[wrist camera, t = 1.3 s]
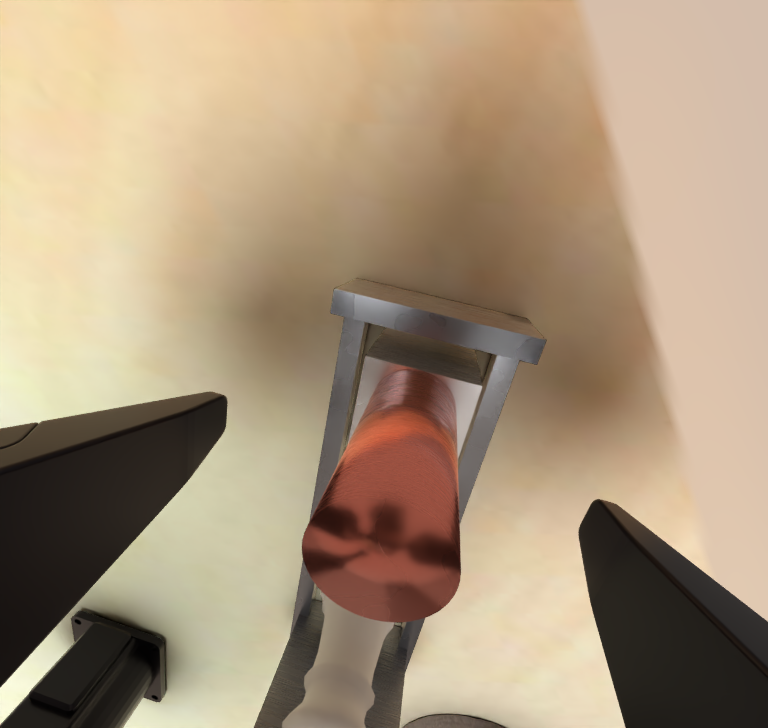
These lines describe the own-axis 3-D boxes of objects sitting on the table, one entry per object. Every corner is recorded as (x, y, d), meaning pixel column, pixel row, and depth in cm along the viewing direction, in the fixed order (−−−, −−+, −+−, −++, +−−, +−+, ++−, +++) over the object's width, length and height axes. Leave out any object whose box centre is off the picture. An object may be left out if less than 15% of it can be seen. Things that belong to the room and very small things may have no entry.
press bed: (403, 663, 21) (386, 817, 16) (295, 627, 22) (241, 763, 16) (527, 318, 14) (579, 376, 8) (356, 278, 14) (296, 306, 9)
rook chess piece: (354, 607, 20) (297, 821, 13) (312, 546, 19) (225, 741, 12) (426, 589, 19) (410, 818, 12) (386, 524, 18) (339, 727, 11)
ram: (442, 469, 16) (430, 754, 7) (355, 444, 17) (244, 688, 8) (480, 347, 14) (529, 540, 5) (381, 323, 15) (270, 464, 6)
